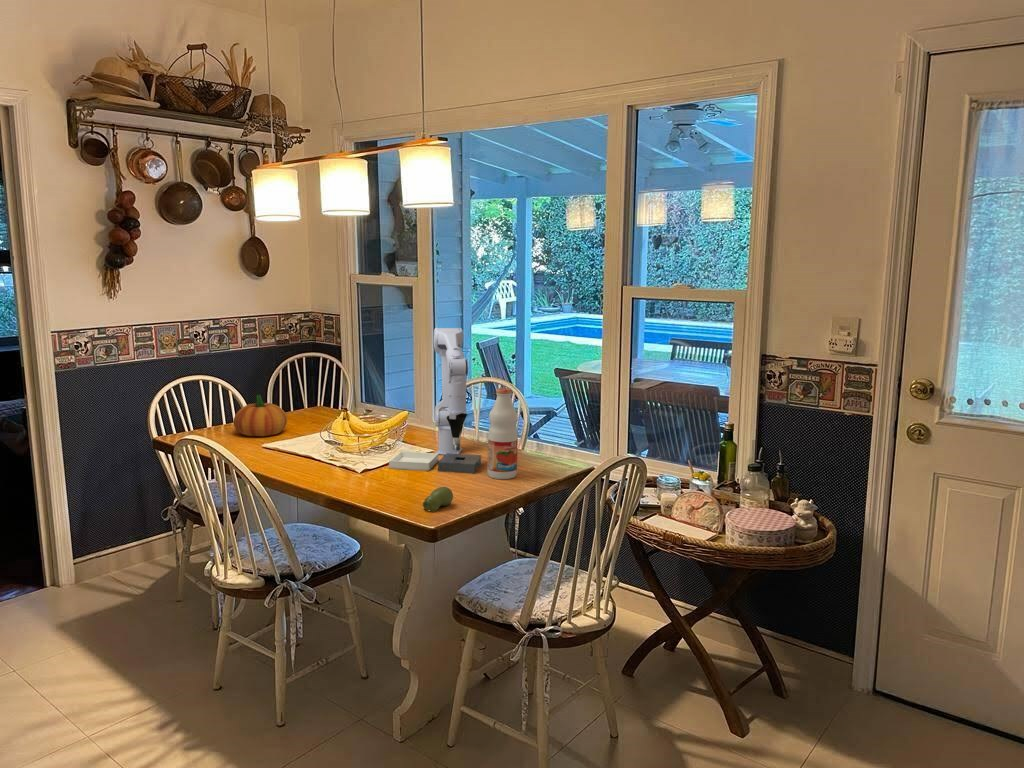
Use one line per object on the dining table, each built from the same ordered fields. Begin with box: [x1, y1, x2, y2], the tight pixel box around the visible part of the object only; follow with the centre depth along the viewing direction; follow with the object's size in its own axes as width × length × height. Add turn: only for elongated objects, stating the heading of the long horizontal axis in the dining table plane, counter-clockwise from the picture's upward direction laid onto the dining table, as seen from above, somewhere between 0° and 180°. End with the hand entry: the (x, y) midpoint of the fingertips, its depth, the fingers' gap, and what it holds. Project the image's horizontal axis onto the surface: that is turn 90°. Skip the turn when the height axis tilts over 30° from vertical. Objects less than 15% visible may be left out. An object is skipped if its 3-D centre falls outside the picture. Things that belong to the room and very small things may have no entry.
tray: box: [388, 450, 439, 472], centre depth 258 cm, size 13×13×3 cm
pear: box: [422, 486, 454, 512], centre depth 215 cm, size 6×5×10 cm
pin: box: [453, 431, 462, 451], centre depth 255 cm, size 2×2×8 cm
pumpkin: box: [233, 394, 288, 438], centre depth 297 cm, size 19×19×15 cm
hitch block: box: [437, 453, 482, 474], centre depth 256 cm, size 12×12×3 cm
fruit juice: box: [486, 387, 519, 480], centre depth 246 cm, size 9×9×28 cm
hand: (456, 436), depth 255 cm, fingers closed on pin, 2 cm apart
